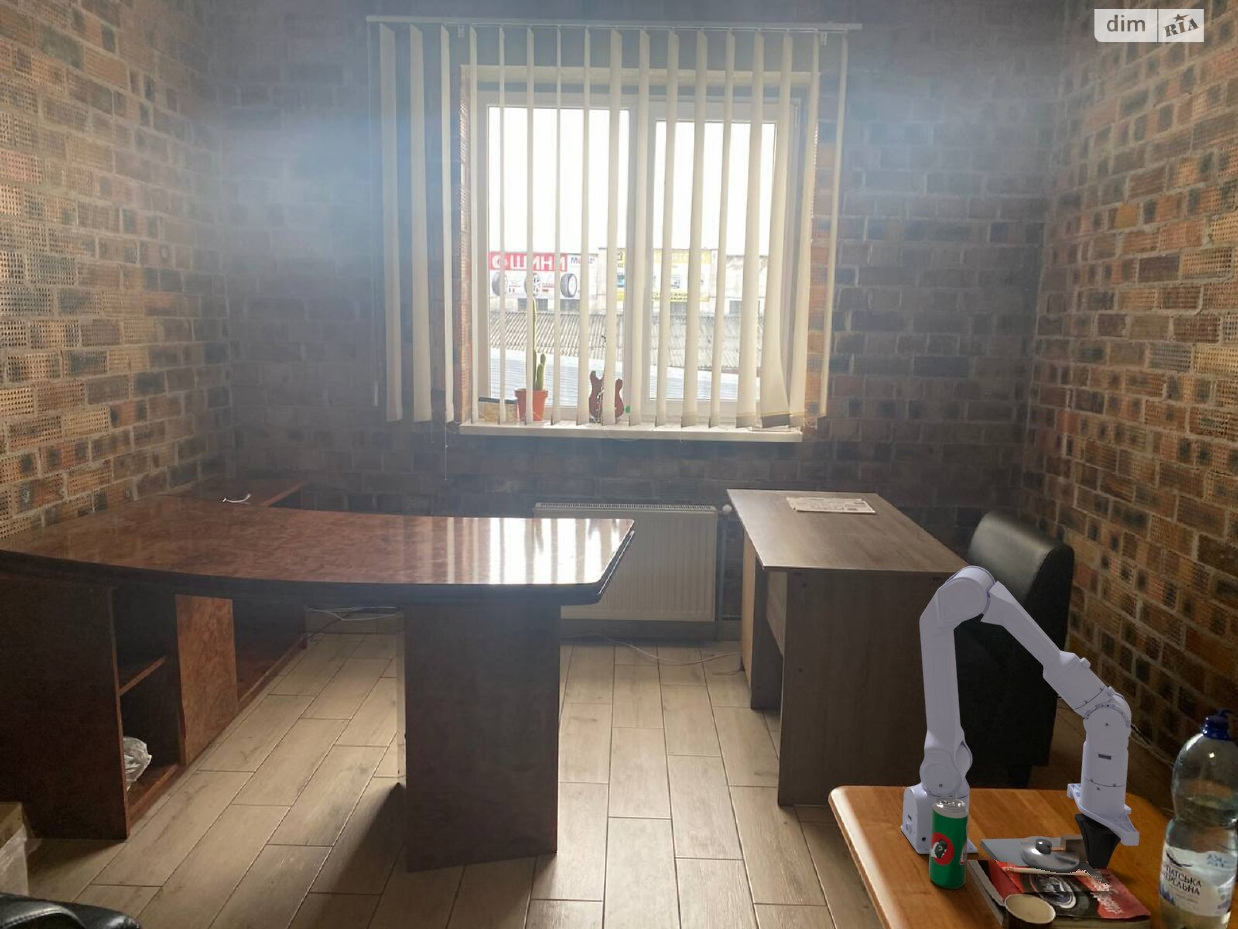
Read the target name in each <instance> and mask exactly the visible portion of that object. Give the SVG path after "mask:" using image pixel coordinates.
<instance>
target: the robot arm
mask: <svg viewBox="0 0 1238 929" xmlns="http://www.w3.org/2000/svg"><path fill="white" fill-rule="evenodd" d="M981 614H982V615H983V616H982V618H981V619H980V622H982V623H987V624H992V625H999V626H1002V627H1004V629H1005V630H1007V632H1008V633H1010V634H1011V635H1012V636H1013V637H1014V638H1015V639H1016V640H1017V642H1019V643H1020V644H1021V645H1022V646H1023V647H1024V648H1025V649H1026V650H1027V651H1028V652H1029V653H1030V654H1031V655H1032V656H1033V657H1034V658H1035V659H1036V660H1038V662H1039V663H1041V665H1042V666H1043V670H1042V672H1043V673H1042V677H1043V680H1045V681H1046V682H1047V683H1048V684H1049V686H1051V688H1052V689H1053V690H1054V691H1055V692H1056V693H1057V694H1058V695H1059V697H1061V699H1062V700H1064V702H1065V703H1066V704H1067V705H1068V706H1069V707H1070V708H1071V709H1072V710H1073V711H1074V712H1075V713H1077V715H1080V716H1081V717H1082V718H1084V719H1082V724H1083V727H1084V730H1085V732H1086V734H1085V735H1086V736H1085V741H1084V743H1083V746H1082V747H1083V749H1082V763H1081V764H1082V765H1081V775H1080V776H1081V778H1080V783H1068V784H1067V792H1066V796H1067V797H1068V798H1070V799H1071V800H1073V799H1074V801H1075V803H1076V806H1077V809H1078V811H1080V812H1081V813H1080V812H1079V813H1078V812H1077V813H1075V814H1074V820H1075V822H1076V824H1077V827H1078V828H1079V831H1080V834H1082V837H1083V841H1084V845H1085V850H1086V856H1087V860H1088V861H1087V863H1088V864H1089V865H1090V866H1091V867H1092V868H1093V869H1094V870H1107V868H1108V866H1109V864H1110V861H1111V859H1112V857H1113V853H1114V852H1115V850H1116V849H1117V847H1116V846H1118V845H1119V843H1121V844H1122V845H1123V846H1126V847H1127V846H1130V847H1133V846H1139V842H1140V832H1139V831H1138V830H1137V829H1136V828H1135V826H1134V825H1133V823H1132V820H1131V819H1130V817H1129V815H1130V814H1132V808H1131V807H1130V806H1128V805H1127V804H1126V790H1127V789H1126V788H1127V780H1128V779H1127V777H1128V764H1129V750H1128V747H1129V737H1130V735H1131V734H1132V728H1131V723H1132V711H1131V708H1130V705H1129V704H1128V701H1126V700H1125V697H1124V695H1122V694H1120V693H1118V692H1116V690H1115V689H1114V688H1113V687H1112V686H1109V687H1108V686H1107V685H1106V684H1105V683H1104V682H1103V681H1102V680H1101V679H1100V678H1099V676H1097V675H1096V674H1095V673H1094V672H1093V671H1092V669H1091V662H1090V661H1089V660H1088V659H1087V658H1086V657H1082V658H1080V657H1079V656H1078V655H1077V654H1076V653H1074V652H1067V651H1063V650H1060V649H1059V647H1058V646H1057V645H1056V643H1055V642H1053V640H1052V639H1051V638H1050V637H1049V636H1048V635H1047V634H1046V633H1045V631H1044V630H1043V629H1042V628H1041V627H1040V626H1039V624H1038V623H1037V622H1036V621H1035V619H1033V617H1031V615H1030V614H1029V613H1028V612H1027V611H1026V610H1025V609H1024V607H1023V606H1022V604H1020V602H1018V600H1017V599H1016V598H1015V597H1014V596H1013V594H1011V592H1010V590H1008V589H1007V587H1006V586H1005V585H1004V584H1003V583H1001V582H1000V581H999V580H997V581H995V578H994V576H993V574H991V572H989V571H988V570H987V569H986V568H983V567H981V566H978V565H977V566H976V565H969V566H965V567H963V568H961V569H960V570H958V571H957V572H955V573H954V574H953V575H952V576H950V577H949V578H948V579H947V580H946V581H945V583H943V584H942V585H941V586H940V587H938V588H937V590H936V591H935V593H934V595H933V597H932V598H931V600H930V601H929V603H928V604H927V606H926V608H924V610H923V612H922V614H921V615H920V617H919V622H918V623H919V634H920V635H919V636H920V647H921V649H920V650H921V660H922V674H923V675H922V676H923V688H924V689H923V690H924V701H925V716H926V717H925V718H926V728H927V730H926V736H925V740H924V745H923V746H924V749H923V750H924V751H923V752H924V757H923V760H922V763H921V764H920V767H919V776H920V783H918V784H916V785H912V786H907V787H906V788H905V789H904V792H903V804H902V825H900V830H901V831H902V833H903V834H904V836H905V837H906V838H907V840H908V841H909V842H910V844H911V846H912V847H913V848H914V850H915V852H916V853H918V854H919V855H920V854H921V855H925V854H926V855H930V836H931V815H932V806H933V804H934V803H935V800H936V799H937V798H938V797H953V798H957V799H959V800H961V801H963V802H964V803H965V804H966V809H967V810H968V812H969V810H970V809H969V808H970V791H971V790H970V789H971V787H970V785H969V783H968V781H967V779H966V775H967V772H968V771H969V770H970V768H971V767H972V764H973V754H972V752H971V749H970V748H969V746H968V745H967V743H966V740H965V731H964V729H963V728H962V726H961V716H960V715H961V714H960V702H959V700H960V699H959V691H958V687H959V686H958V677H957V676H958V674H957V660H956V649H955V648H956V645H955V636H954V635H955V634H954V630H955V628H957V627H958V626H959V625H960V624H961V623H962V622H965V621H968V620H970V619H974V618H975V617H978V616H979V615H981ZM969 813H970V812H969ZM973 853H975V854H976V853H978V848H977V846H975V845H974V843H973V842H972V841H971V840H970V839H969V838H968V841H967V854H973Z"/></svg>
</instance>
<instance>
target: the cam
mask: <svg viewBox="0 0 1238 929" xmlns="http://www.w3.org/2000/svg"><path fill="white" fill-rule="evenodd" d="M1054 838H1055V837H1048V836H1043V835H1033V836H1027V837H1025V839H1023V840H1022V841H1021V847H1020V855H1021V857H1022V859H1023V860H1024V861H1025V862H1026V863H1027V864H1029V865H1030V866H1032V867H1034V868H1036V869H1041V870H1045V871H1050V872H1056V873H1070V872H1071V873H1072V872H1076V871H1077V870H1078V868H1079V861H1086V862H1088V860H1087V856H1086V850H1085V845H1084V841H1083V837H1082V834H1081V833H1079V834H1078V833H1077V834H1074V833H1073V834H1060V838H1061V841H1060V840H1057V839H1054ZM1117 846H1118V845H1117ZM1117 846H1116V848H1117Z"/></svg>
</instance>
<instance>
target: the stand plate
mask: <svg viewBox="0 0 1238 929" xmlns="http://www.w3.org/2000/svg"><path fill="white" fill-rule="evenodd" d="M1025 838H1026V837H1025ZM1025 838H986V839H985V838H984V839H983V838H981V839H980V847H981V848H982V849H983V850H984V851H985V852H986V854H988V856H989V857H990V858H991V859H992V860H993V859H995V860H997V861H999V862H1005V863H1006V862H1007V863H1013V864H1014V865H1017V866H1030V865H1029V864H1027V863H1026V862H1025V861H1024V860H1023V859H1022V857H1021V855H1020V847H1021V841H1022V840H1023V839H1025ZM1053 838H1054V839H1057V840H1060V841H1061V837H1053ZM1078 869H1080V870H1081V871H1082V870H1083V871H1084V870H1086V871H1085V873H1087V872H1088V873H1089V874H1090V875H1091V876H1096V878H1094V877H1093V879H1102V881H1101V883H1107V884H1108V883H1109V882H1108V881H1107V880H1106V879H1105V878H1104V877H1102V875H1100V873H1098V872H1097V870H1096V869H1093V868H1092V867H1091V866H1090V865H1089V864H1088V861H1079V868H1078ZM1090 875H1089V876H1090ZM1097 876H1098V878H1097ZM1091 878H1092V877H1091ZM1103 879H1104V880H1103ZM1099 882H1100V881H1099ZM1105 885H1106V884H1105ZM1108 885H1110V886H1111V884H1110V883H1109V884H1108Z"/></svg>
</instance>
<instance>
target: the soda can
mask: <svg viewBox="0 0 1238 929" xmlns="http://www.w3.org/2000/svg"><path fill="white" fill-rule="evenodd" d="M969 815H970V812H968V810H967V809H966V804H965V803H964V802H963V801H961V800H959V799H957V798H953V797H938V798H937V799H936V800H935V803H934V804H933V806H932V815H931V836H930V854H929V858H928V859H929V862H928V876H929V878H930V879H931V881H932V882H933V883H934V884H935V885H937V886H939V887H941V888H942V889H946V890H947V889H948V890H955V889H956V890H957V889H960V888H961V887H962V886H964V884H965V883H966V878H967V877H966V876H967V875H966V874H967V857H968V853H967V841H968V839H969V818H970V816H969Z"/></svg>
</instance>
